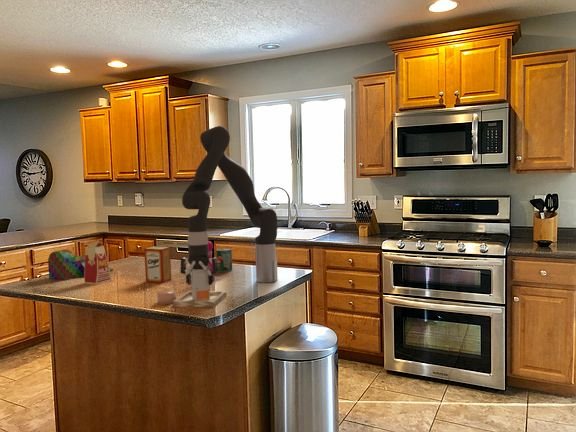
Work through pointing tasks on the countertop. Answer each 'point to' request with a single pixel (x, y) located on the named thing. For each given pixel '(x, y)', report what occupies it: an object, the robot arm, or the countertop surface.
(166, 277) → the baking soda box
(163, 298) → the tan rounded blob
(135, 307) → the countertop surface
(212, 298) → the maple tray
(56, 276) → the rainbow checkered teapot
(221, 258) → the canned tomato
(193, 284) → the skincare box
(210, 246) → the pepper mill
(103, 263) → the milk carton
